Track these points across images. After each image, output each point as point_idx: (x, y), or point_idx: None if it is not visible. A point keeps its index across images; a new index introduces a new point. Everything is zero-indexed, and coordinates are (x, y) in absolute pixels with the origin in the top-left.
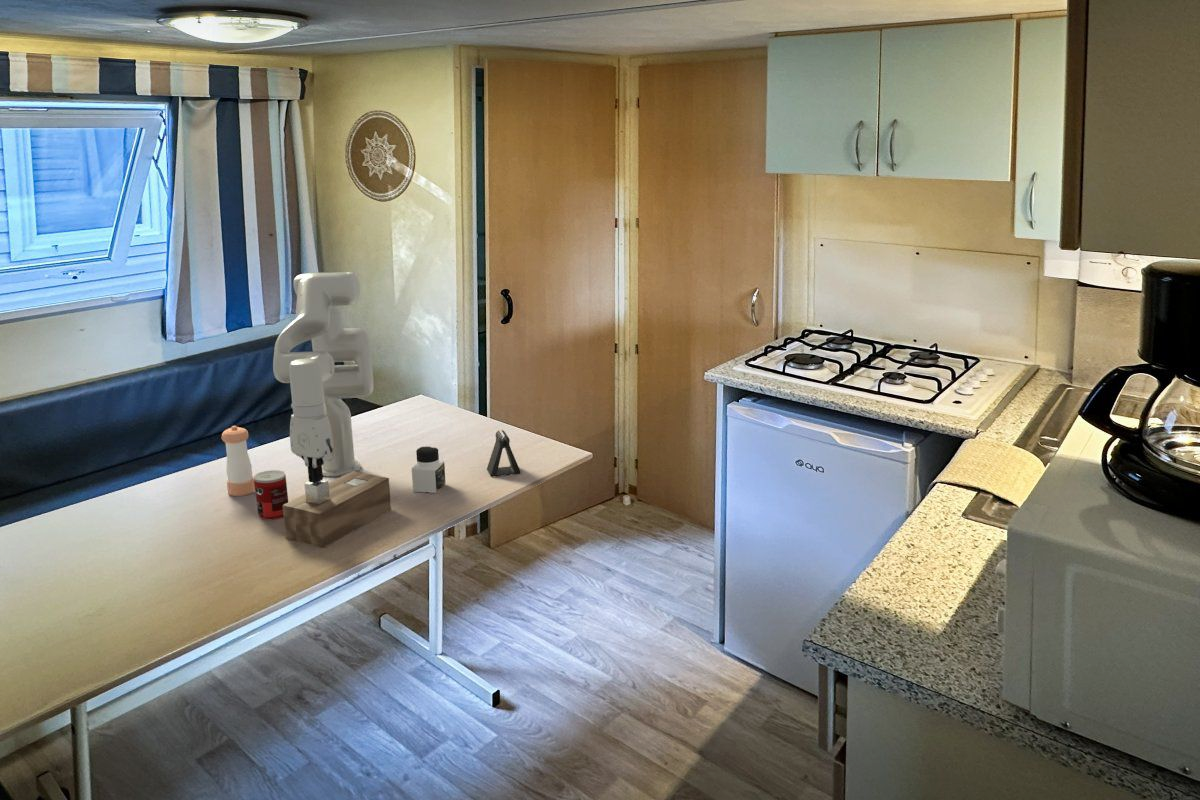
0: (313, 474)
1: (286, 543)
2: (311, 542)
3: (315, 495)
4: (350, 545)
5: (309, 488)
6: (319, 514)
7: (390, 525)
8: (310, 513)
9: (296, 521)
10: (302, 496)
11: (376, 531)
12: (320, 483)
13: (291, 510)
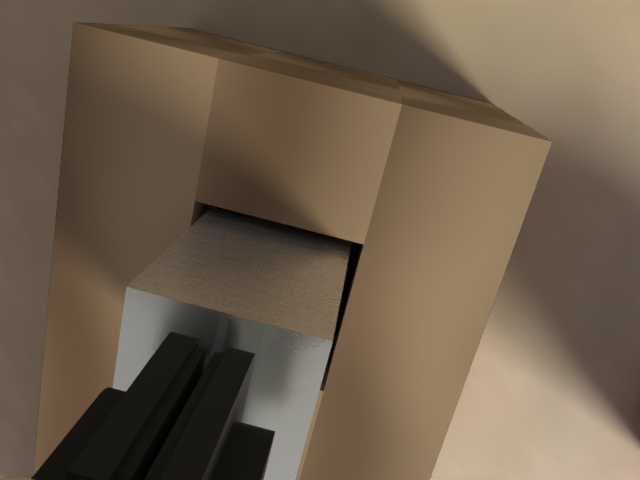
0: (120, 400)
1: (455, 36)
2: (275, 50)
3: (203, 249)
4: (55, 101)
5: (267, 298)
6: (82, 24)
7: (7, 376)
8: (196, 50)
9: (385, 88)
10: (452, 363)
11: (30, 299)
12: (135, 369)
13: (434, 109)
